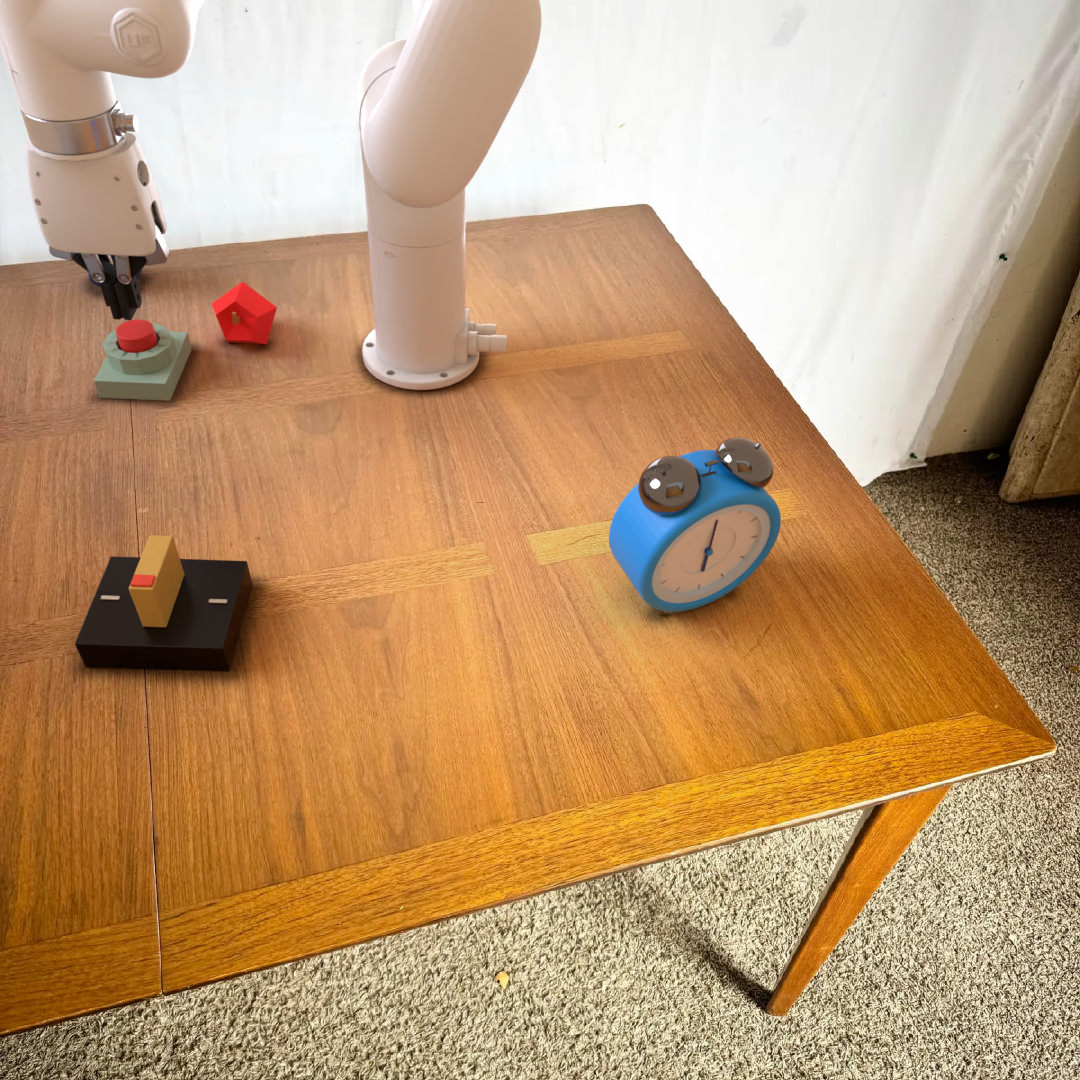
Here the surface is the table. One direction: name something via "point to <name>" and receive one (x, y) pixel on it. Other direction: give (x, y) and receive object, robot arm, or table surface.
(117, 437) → the table surface
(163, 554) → the lock knob
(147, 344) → the bell button
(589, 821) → the table surface
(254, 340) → the apple
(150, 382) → the block
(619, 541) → the alarm clock
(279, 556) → the table surface
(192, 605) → the plate
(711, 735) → the table surface
